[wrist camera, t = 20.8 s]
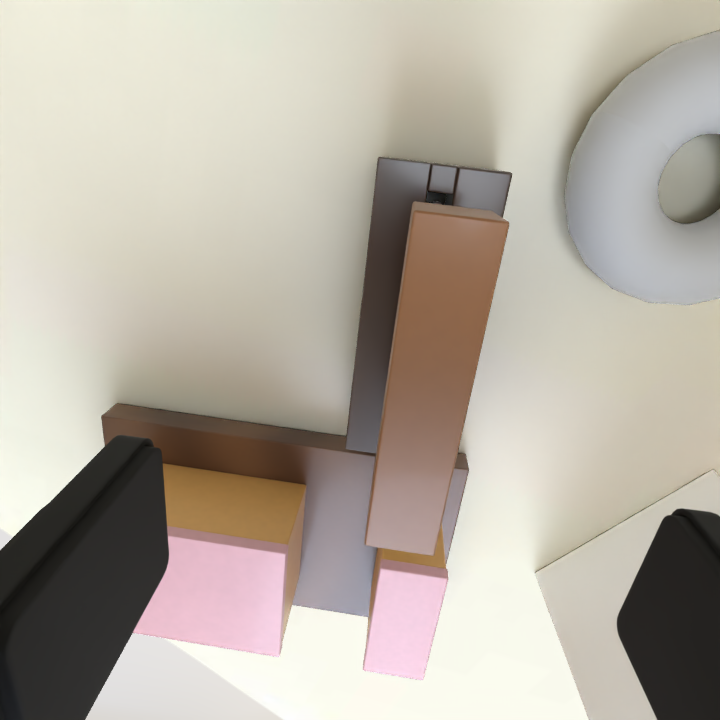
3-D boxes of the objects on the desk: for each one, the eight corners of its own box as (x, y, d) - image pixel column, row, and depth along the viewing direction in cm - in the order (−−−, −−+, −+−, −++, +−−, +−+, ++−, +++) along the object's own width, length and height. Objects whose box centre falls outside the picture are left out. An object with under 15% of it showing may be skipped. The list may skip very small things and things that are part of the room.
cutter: (380, 402, 26) (363, 546, 16) (411, 186, 21) (412, 209, 12) (425, 408, 26) (434, 557, 16) (465, 192, 21) (510, 221, 12)
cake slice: (370, 588, 29) (362, 671, 24) (385, 495, 26) (380, 568, 22) (421, 596, 29) (423, 681, 24) (441, 503, 26) (448, 578, 21)
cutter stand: (352, 413, 26) (344, 449, 23) (382, 156, 21) (378, 156, 18) (443, 426, 26) (448, 464, 23) (497, 170, 21) (513, 172, 18)
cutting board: (133, 559, 32) (120, 577, 31) (116, 402, 27) (100, 416, 26) (430, 606, 31) (431, 627, 30) (466, 453, 27) (469, 469, 25)
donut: (733, 312, 22) (868, 66, 18) (785, 339, 19) (964, 50, 15) (522, 267, 22) (608, 13, 18) (540, 287, 19) (650, -15, 15)
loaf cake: (139, 552, 30) (89, 626, 25) (130, 457, 27) (71, 520, 22) (300, 577, 29) (279, 657, 25) (307, 483, 26) (285, 554, 22)
